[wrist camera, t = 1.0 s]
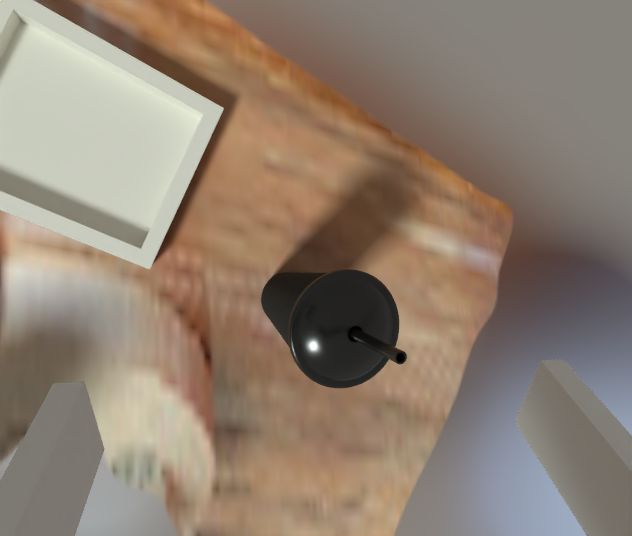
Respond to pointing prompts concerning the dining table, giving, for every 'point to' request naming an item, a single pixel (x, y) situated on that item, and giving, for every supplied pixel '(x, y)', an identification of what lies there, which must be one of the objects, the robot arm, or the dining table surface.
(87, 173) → the tray
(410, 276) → the dining table surface
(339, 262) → the dining table surface
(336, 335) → the drinking cup
